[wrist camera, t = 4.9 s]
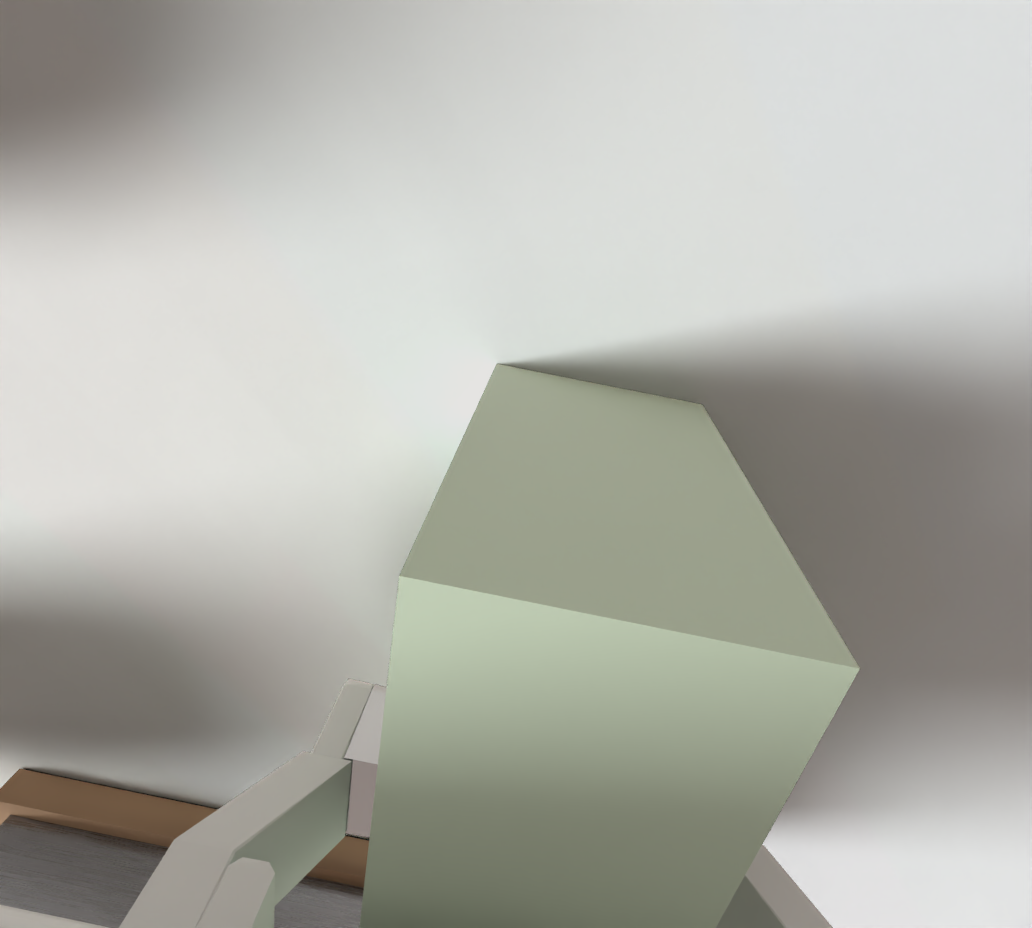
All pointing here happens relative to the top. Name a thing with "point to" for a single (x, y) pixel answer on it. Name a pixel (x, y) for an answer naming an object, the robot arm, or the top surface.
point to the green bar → (591, 673)
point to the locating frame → (133, 854)
